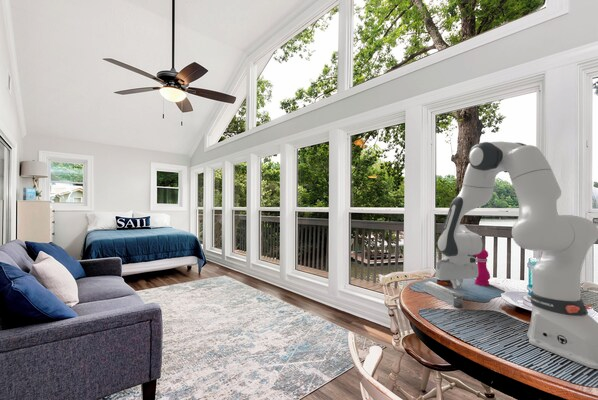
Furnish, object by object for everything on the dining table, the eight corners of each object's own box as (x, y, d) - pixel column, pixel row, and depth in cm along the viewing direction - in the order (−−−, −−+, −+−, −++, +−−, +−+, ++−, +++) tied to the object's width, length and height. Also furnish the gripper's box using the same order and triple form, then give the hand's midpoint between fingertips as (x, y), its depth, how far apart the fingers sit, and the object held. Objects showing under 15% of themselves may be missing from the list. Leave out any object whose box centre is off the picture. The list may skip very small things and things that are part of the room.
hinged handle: (467, 306, 117) (467, 295, 117) (459, 307, 116) (458, 296, 116) (430, 289, 141) (430, 280, 141) (423, 290, 140) (422, 280, 140)
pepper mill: (477, 285, 147) (477, 247, 147) (471, 282, 154) (471, 245, 154) (493, 286, 146) (492, 247, 146) (486, 282, 153) (485, 245, 153)
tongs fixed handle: (464, 307, 117) (464, 298, 117) (457, 308, 116) (457, 298, 116) (428, 290, 140) (428, 282, 140) (422, 290, 139) (422, 282, 139)
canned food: (435, 284, 149) (435, 263, 150) (438, 281, 156) (437, 261, 156) (452, 287, 145) (451, 265, 145) (454, 283, 152) (453, 262, 152)
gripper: (440, 260, 128) (441, 291, 127) (480, 258, 131) (481, 289, 131) (431, 258, 134) (432, 288, 133) (469, 256, 137) (470, 285, 137)
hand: (457, 288), depth 132 cm, fingers closed
